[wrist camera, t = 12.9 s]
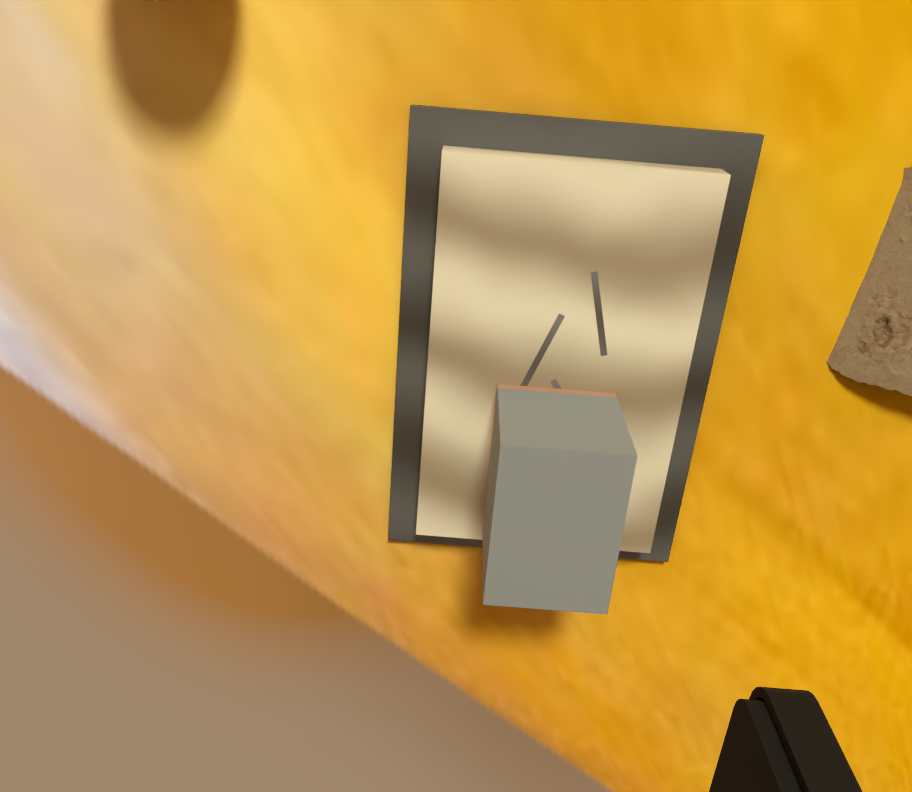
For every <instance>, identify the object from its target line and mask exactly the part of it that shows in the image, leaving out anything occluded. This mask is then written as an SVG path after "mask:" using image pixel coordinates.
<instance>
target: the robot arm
mask: <svg viewBox="0 0 912 792" xmlns="http://www.w3.org/2000/svg"><path fill="white" fill-rule="evenodd" d="M709 792H862V790H861V788H860V786H859V784H858V782H857V780H856V778H855V776H854V774H853V772H852V770H851V768H850V766H849V764H848V762H847V760H846V758H845V756H844V754H843V752H842V750H841V748H840V745H839V743H838V741H837V739H836V737H835V735H834V733H833V731H832V729H831V727H830V725H829V723H828V721H827V719H826V717H825V715H824V713H823V711H822V709H821V707H820V705H819V703H818V701H817V700H816V698H815V696H814V695H813V694H812V693H810V692H809V691H805V690H792V689H779V688H767V687H756V688H755V689H754V690H753V691H752V693H751V696H750V698H749V700H747V699H739V700H738V701H737V702H736V703H735V706H734V709H733V712H732V715H731V719H730V722H729V726H728V729H727V732H726V736H725V739H724V743H723V746H722V750H721V753H720V756H719V760H718V763H717V767H716V770H715V773H714V777H713V780H712V784H711V787H710V790H709Z"/></svg>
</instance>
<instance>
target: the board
mask: <svg viewBox="0 0 912 792" xmlns="http://www.w3.org/2000/svg"><path fill="white" fill-rule="evenodd" d="M763 138H764V135H761V134H754V133H742V132H730V131H718V130H706V129H695V128H683V127H671V126H659V125H647V124H635V123H623V122H611V121H600V120H588V119H576V118H564V117H552V116H540V115H528V114H517V113H505V112H493V111H481V110H469V109H457V108H445V107H433V106H422V105H411V106H410V124H409V144H408V163H407V183H406V202H405V222H404V241H403V261H402V280H401V300H400V319H399V339H398V359H397V378H396V398H395V417H394V437H393V456H392V476H391V495H390V515H389V534H388V540H399V541H412V542H424V543H437V544H449V545H462V546H474V547H483V529H482V528H483V518H484V508H485V499H486V489H487V480H488V470H489V461H490V451H491V441H492V432H493V422H494V413H495V403H496V393H497V384H507V385H519V386H532V387H545V388H558V389H570V390H583V391H596V392H609V393H615V394H616V397H617V399H618V402H619V405H620V408H621V411H622V413H623V416H624V419H625V422H626V425H627V427H628V430H629V433H630V436H631V439H632V441H633V444H634V447H635V450H636V453H637V461H636V467H635V472H634V477H633V482H632V488H631V493H630V498H629V503H628V509H627V514H626V519H625V524H624V529H623V535H622V540H621V545H620V550H619V556H618V558H624V559H637V560H649V561H662V562H668V559H669V555H670V550H671V546H672V542H673V537H674V533H675V528H676V524H677V519H678V515H679V511H680V506H681V502H682V497H683V493H684V488H685V484H686V480H687V475H688V471H689V466H690V462H691V457H692V453H693V449H694V444H695V440H696V435H697V431H698V426H699V422H700V417H701V413H702V409H703V404H704V400H705V395H706V391H707V386H708V382H709V378H710V373H711V369H712V364H713V360H714V355H715V351H716V347H717V342H718V338H719V333H720V329H721V324H722V320H723V316H724V311H725V307H726V302H727V298H728V293H729V289H730V284H731V280H732V276H733V271H734V267H735V262H736V258H737V253H738V249H739V245H740V240H741V236H742V231H743V227H744V222H745V218H746V214H747V209H748V205H749V200H750V196H751V191H752V187H753V183H754V178H755V174H756V169H757V165H758V160H759V156H760V151H761V147H762V143H763Z"/></svg>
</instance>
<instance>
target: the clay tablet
mask: <svg viewBox="0 0 912 792" xmlns="http://www.w3.org/2000/svg"><path fill="white" fill-rule="evenodd" d="M826 363H828V364H829V365H830V367H831V368H832V369H834V370H836V371H839V372H840V374H841V375H843V376H846V377H848V378H851V379H853V380H855V381H856V382H865V383H867V384H868V385H877V386H880V387H881V388H884V389H887V390H897V391H899V392H900V393H903V394H905V395H909V396H912V167H911V168H904V175H903V181H902V185H901V188H900V190H899V192H898V194H897V196H896V199H895V202H894V205H893V208H892V211H891V213H890V216H889V218H888V221H887V223H886V226H885V228H884V230H883V232H882V235H881V237H880V240H879V242H878V245H877V248H876V250H875V253H874V256H873V258H872V261H871V263H870V265H869V268H868V270H867V273H866V275H865V277H864V279H863V281H862V283H861V286H860V288H859V290H858V293H857V295H856V297H855V299H854V302H853V304H852V307H851V310H850V313H849V315H848V317H847V318H846V321H845V323H844V326H843V328H842V330H841V332H840V335H839V337H838V339H837V342H836V344H835V347H834V349H833V351H832V353H831V354H830V356H829V359H828V361H827V362H826Z"/></svg>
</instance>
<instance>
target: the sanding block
mask: <svg viewBox="0 0 912 792" xmlns="http://www.w3.org/2000/svg"><path fill="white" fill-rule="evenodd" d="M636 461H637V453H636V450H635V447H634V444H633V441H632V439H631V436H630V433H629V430H628V427H627V425H626V422H625V419H624V416H623V413H622V411H621V408H620V405H619V402H618V399H617V397H616V394H615V393H609V392H596V391H583V390H570V389H558V388H545V387H532V386H519V385H507V384H497V393H496V403H495V413H494V422H493V432H492V441H491V451H490V461H489V470H488V480H487V489H486V499H485V508H484V518H483V528H482V529H483V605H492V606H505V607H519V608H532V609H545V610H558V611H571V612H584V613H597V614H607V613H608V608H609V603H610V598H611V592H612V587H613V582H614V577H615V571H616V566H617V561H618V556H619V550H620V545H621V540H622V535H623V529H624V524H625V519H626V514H627V509H628V503H629V498H630V493H631V488H632V482H633V477H634V472H635V467H636Z"/></svg>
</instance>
